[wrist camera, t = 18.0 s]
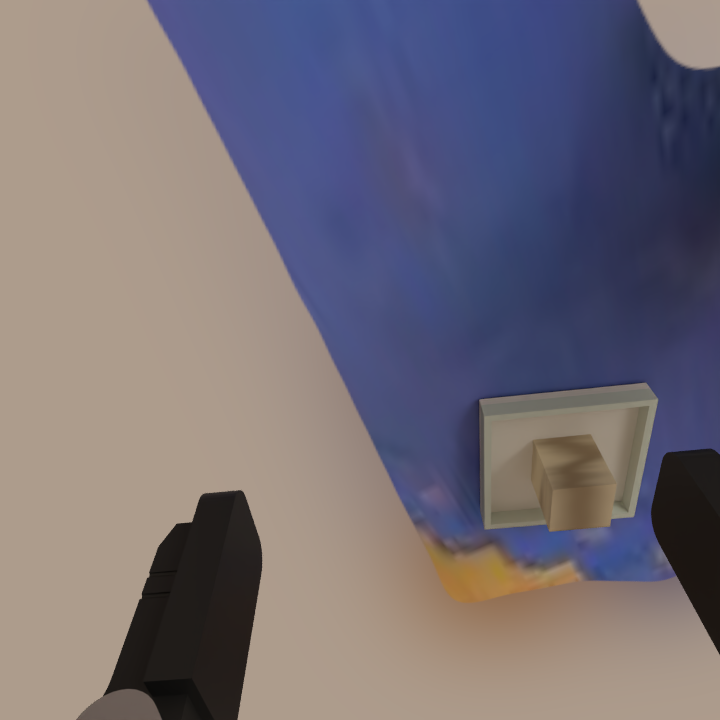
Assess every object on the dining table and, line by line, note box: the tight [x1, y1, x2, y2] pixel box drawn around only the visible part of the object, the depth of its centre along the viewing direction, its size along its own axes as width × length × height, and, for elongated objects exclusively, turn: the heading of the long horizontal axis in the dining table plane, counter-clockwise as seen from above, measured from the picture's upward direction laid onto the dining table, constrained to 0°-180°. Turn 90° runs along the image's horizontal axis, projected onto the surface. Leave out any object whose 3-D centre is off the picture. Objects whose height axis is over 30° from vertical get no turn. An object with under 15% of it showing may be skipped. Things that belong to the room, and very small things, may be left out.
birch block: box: [531, 434, 617, 532], centre depth 49 cm, size 5×5×6 cm
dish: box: [479, 383, 658, 529], centre depth 51 cm, size 14×14×2 cm
